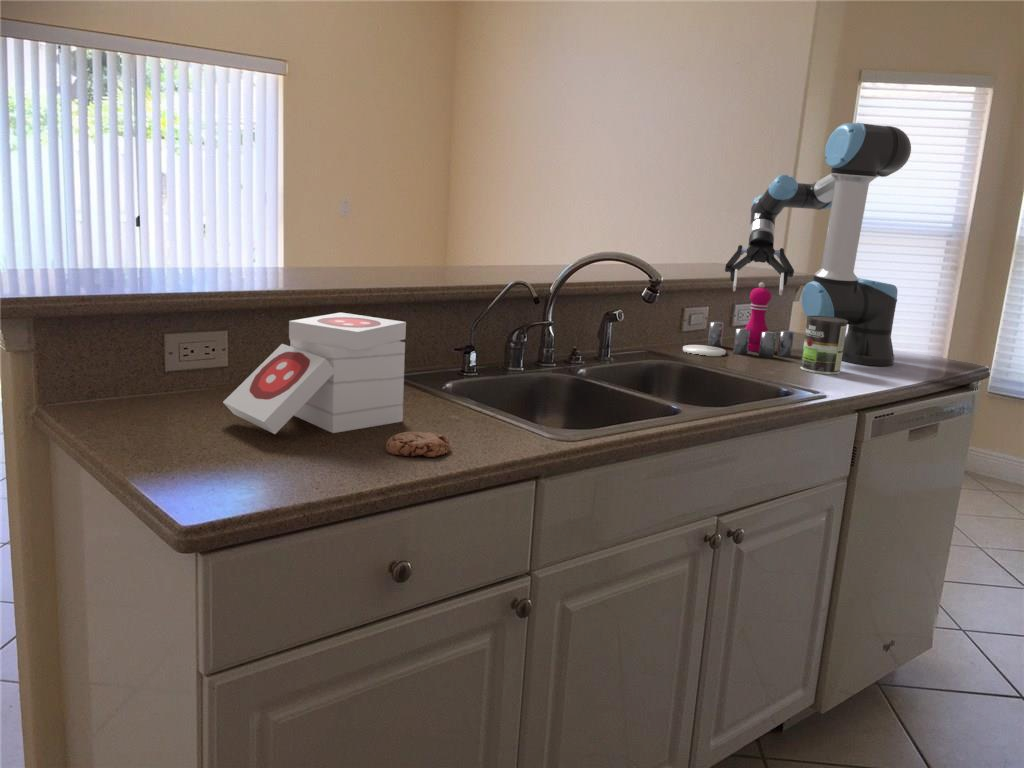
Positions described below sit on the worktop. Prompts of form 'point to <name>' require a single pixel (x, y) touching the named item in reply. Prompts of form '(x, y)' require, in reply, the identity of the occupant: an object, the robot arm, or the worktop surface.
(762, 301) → the pepper mill
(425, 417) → the worktop surface
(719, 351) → the disc
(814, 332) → the coffee can
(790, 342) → the posts
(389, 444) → the cookie
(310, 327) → the pizza boxes
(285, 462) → the worktop surface
